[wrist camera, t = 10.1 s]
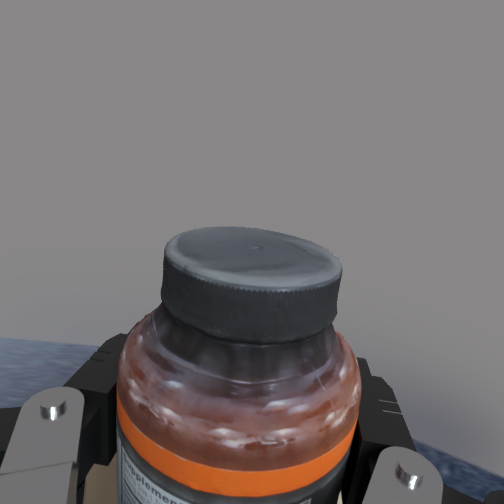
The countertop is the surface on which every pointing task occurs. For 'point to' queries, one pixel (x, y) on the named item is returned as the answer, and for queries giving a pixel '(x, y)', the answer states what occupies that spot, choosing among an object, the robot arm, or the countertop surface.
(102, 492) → the pin board
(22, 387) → the countertop surface
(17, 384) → the countertop surface
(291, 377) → the supplement bottle
